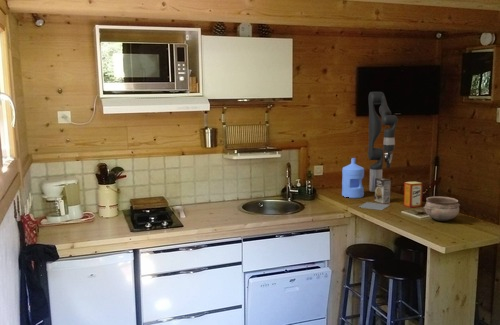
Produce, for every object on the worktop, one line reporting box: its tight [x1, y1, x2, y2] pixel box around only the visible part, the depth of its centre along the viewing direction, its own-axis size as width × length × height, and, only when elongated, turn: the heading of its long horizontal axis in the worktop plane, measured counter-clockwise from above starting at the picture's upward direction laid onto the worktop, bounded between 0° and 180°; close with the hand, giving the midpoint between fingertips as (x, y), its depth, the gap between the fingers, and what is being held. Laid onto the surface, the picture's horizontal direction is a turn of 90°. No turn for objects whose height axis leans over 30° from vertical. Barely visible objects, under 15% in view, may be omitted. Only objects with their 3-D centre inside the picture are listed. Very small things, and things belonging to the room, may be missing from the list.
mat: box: [358, 201, 391, 211], centre depth 311 cm, size 16×16×1 cm
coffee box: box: [374, 177, 392, 204], centre depth 323 cm, size 9×6×16 cm
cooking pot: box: [423, 196, 461, 222], centre depth 276 cm, size 25×19×12 cm
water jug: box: [341, 157, 365, 199], centre depth 340 cm, size 16×16×28 cm
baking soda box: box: [403, 181, 424, 209], centre depth 310 cm, size 10×6×16 cm
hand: (388, 168), depth 330 cm, fingers closed
